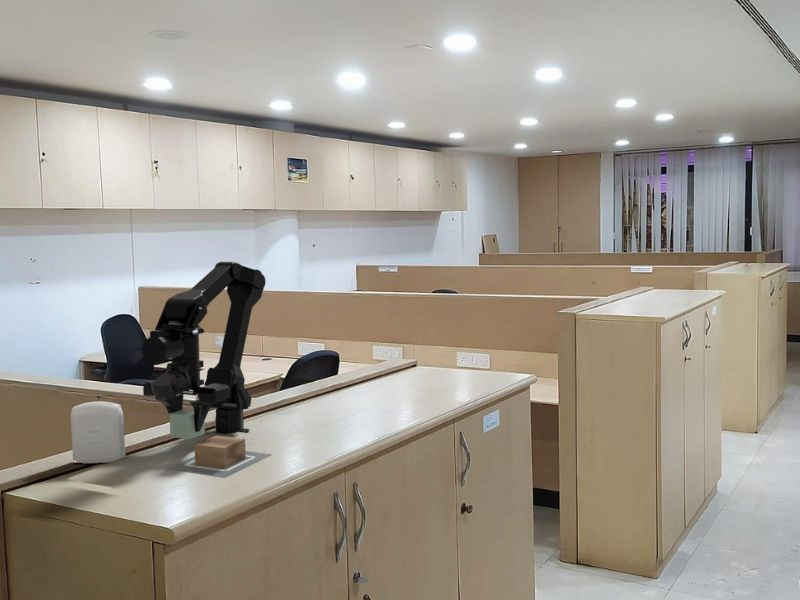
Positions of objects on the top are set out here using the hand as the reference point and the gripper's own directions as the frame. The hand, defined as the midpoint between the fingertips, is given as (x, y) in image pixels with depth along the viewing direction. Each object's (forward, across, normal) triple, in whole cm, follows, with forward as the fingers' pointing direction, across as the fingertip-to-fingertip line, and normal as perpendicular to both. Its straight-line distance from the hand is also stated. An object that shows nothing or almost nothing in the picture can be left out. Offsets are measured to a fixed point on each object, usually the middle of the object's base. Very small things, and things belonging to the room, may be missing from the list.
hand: (187, 430), depth 164 cm
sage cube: (+1, 0, 0) cm, 1 cm away
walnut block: (+4, +12, -5) cm, 14 cm away
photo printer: (+5, -13, -12) cm, 18 cm away
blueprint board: (+5, +12, -5) cm, 14 cm away
